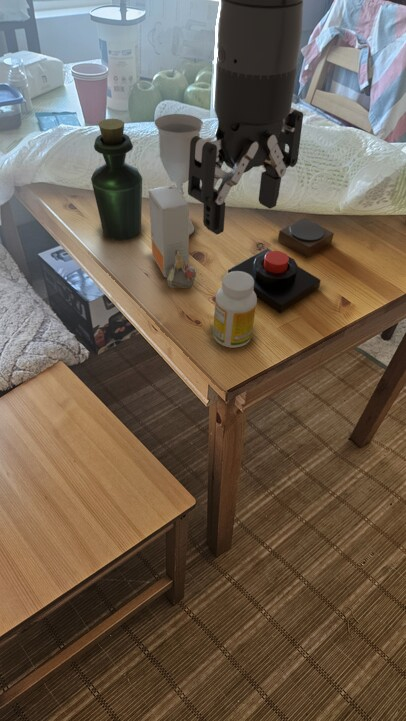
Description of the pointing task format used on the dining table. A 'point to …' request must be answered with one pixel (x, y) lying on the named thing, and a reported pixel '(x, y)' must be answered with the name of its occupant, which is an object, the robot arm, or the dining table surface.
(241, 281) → the supplement bottle
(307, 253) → the stand
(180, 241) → the cosmetic box
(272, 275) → the button housing
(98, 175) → the potion bottle
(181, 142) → the chalice
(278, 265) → the button
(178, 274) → the figurine
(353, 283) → the dining table surface
